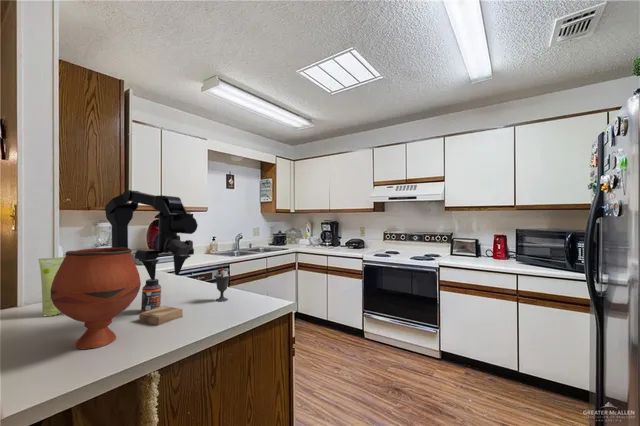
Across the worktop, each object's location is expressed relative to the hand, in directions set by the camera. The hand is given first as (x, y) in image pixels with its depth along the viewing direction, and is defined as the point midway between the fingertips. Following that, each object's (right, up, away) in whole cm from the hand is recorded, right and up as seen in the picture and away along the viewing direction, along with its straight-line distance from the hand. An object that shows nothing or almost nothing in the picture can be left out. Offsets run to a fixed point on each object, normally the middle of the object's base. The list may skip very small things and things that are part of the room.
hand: (165, 277), depth 96 cm
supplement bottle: (-8, -14, +5) cm, 17 cm away
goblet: (-7, -13, -21) cm, 25 cm away
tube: (-39, -13, -1) cm, 41 cm away
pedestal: (0, -13, -2) cm, 14 cm away
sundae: (+12, -15, +21) cm, 28 cm away
